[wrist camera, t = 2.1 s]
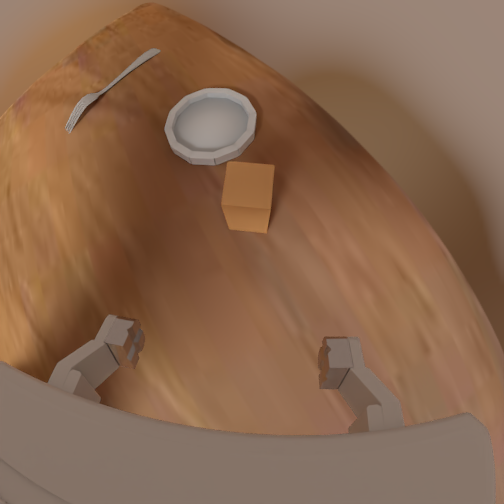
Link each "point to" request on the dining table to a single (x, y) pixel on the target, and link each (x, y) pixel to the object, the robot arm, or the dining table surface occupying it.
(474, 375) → the dining table surface
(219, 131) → the ring dish
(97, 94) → the fork
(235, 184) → the wooden toy brick
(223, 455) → the robot arm
